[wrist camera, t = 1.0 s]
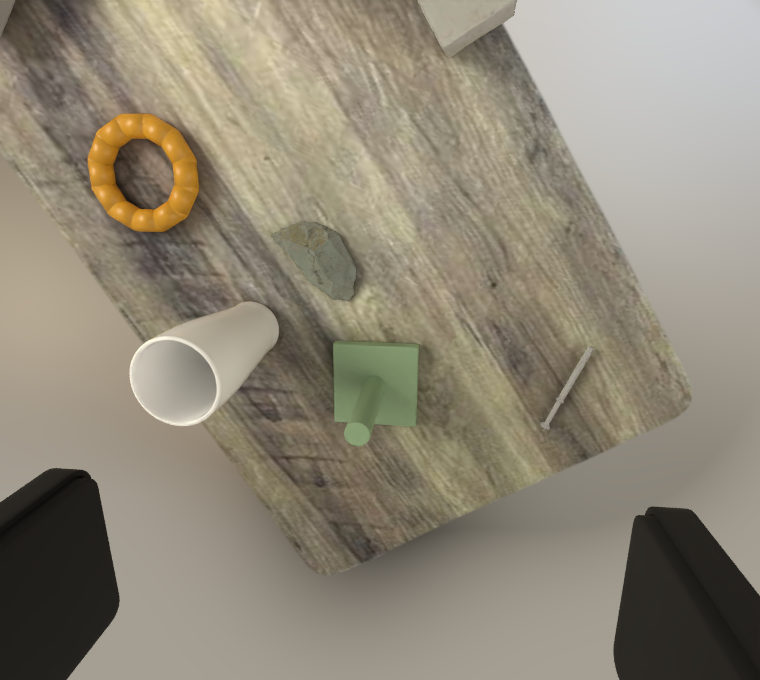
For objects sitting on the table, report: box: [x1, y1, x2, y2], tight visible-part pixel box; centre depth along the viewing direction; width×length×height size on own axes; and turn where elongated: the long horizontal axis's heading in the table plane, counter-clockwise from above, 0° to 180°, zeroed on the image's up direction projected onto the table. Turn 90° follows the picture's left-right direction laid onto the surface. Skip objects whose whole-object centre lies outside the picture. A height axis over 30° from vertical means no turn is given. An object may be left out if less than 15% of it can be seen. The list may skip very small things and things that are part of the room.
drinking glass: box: [130, 302, 279, 426], centre depth 41 cm, size 7×7×15 cm
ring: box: [88, 113, 199, 232], centre depth 44 cm, size 10×10×2 cm
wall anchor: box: [540, 346, 594, 430], centre depth 45 cm, size 1×9×1 cm, turn 158°
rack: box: [333, 341, 419, 446], centre depth 43 cm, size 8×8×11 cm
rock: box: [271, 222, 356, 301], centre depth 44 cm, size 9×2×5 cm
